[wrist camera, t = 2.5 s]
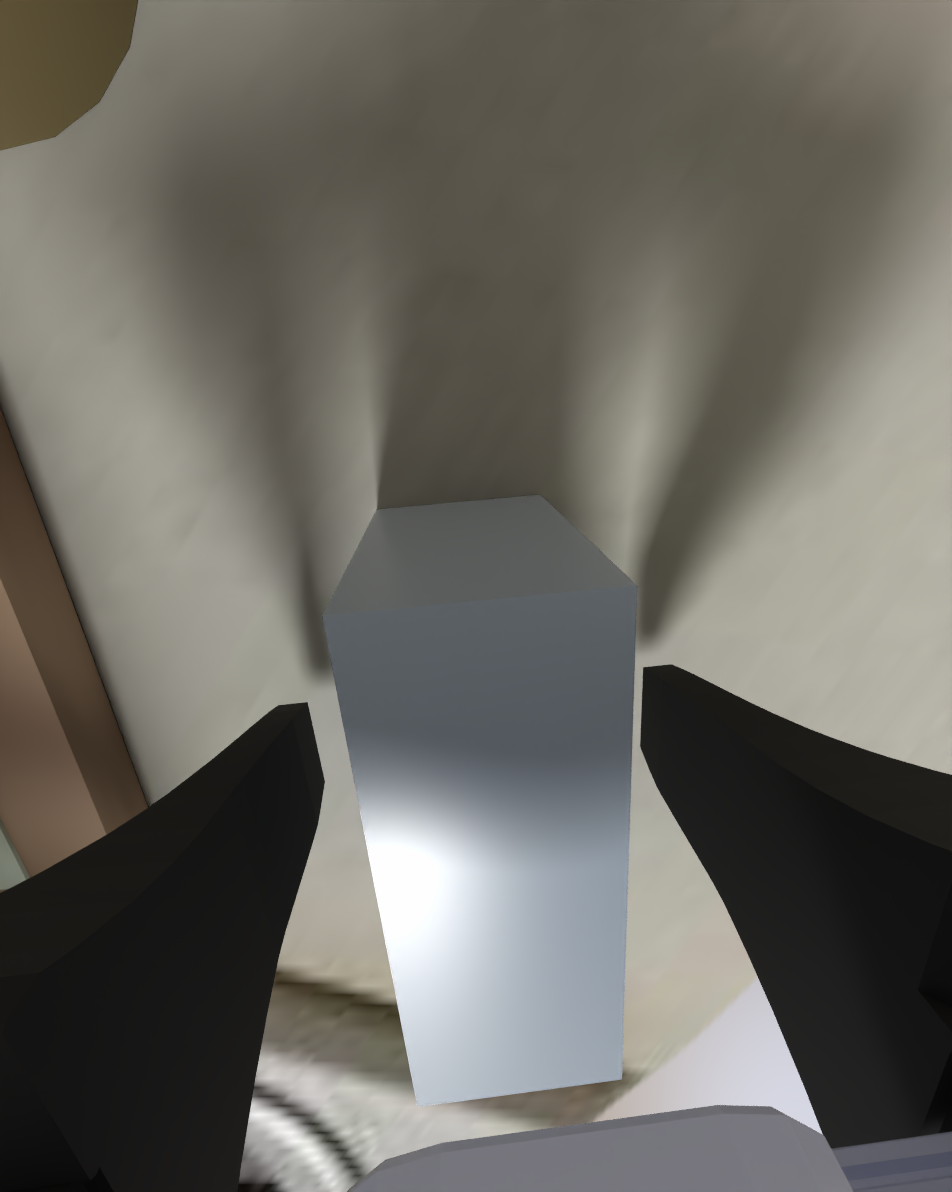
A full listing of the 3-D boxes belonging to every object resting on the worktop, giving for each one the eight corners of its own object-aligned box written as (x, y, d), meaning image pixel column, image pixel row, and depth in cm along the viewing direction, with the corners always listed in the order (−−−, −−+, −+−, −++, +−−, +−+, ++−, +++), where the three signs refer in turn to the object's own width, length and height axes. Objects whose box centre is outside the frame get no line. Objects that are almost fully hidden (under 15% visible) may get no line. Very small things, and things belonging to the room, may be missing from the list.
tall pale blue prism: (550, 820, 15) (622, 1078, 9) (424, 834, 15) (417, 1106, 9) (539, 493, 12) (637, 586, 6) (377, 508, 11) (322, 616, 6)
